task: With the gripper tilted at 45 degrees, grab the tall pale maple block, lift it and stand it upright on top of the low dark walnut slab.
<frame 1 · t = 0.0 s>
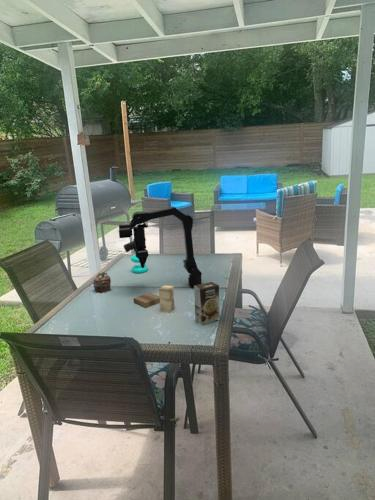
hand: (141, 265, 205), 15 cm above the table, tool pointing down, fingers open, 9 cm apart
cyan spool: (140, 271, 245), on the table
walnut slab: (147, 303, 194), on the table
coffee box: (207, 320, 170), on the table
cupcake: (102, 290, 214), on the table
maple block: (167, 309, 184), on the table
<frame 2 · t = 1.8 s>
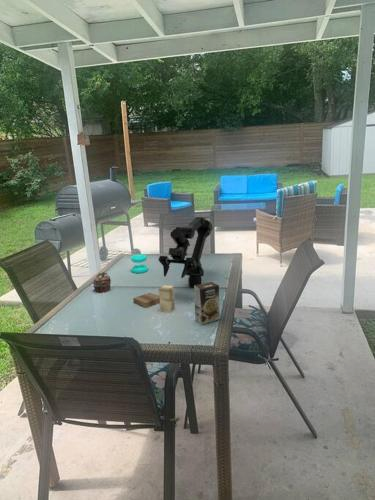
hand: (173, 277, 187), 13 cm above the table, tool tilted 45°, fingers open, 9 cm apart
nothing on the table moved.
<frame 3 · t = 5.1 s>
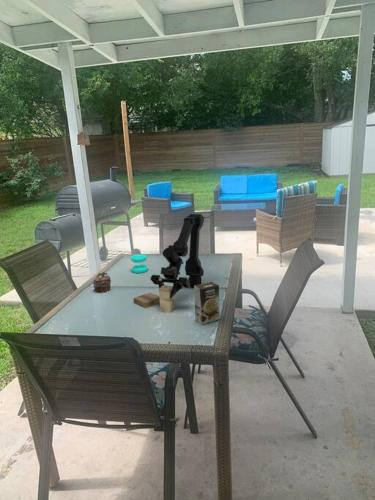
hand: (165, 297, 181), 7 cm above the table, tool tilted 45°, fingers closed on maple block, 5 cm apart
maple block: (167, 309, 184), on the table, touching gripper
everything else where it was.
when the fingers open (11 cm above the table, at t = 8.7 s): maple block drops 2 cm, point 3 cm above the table.
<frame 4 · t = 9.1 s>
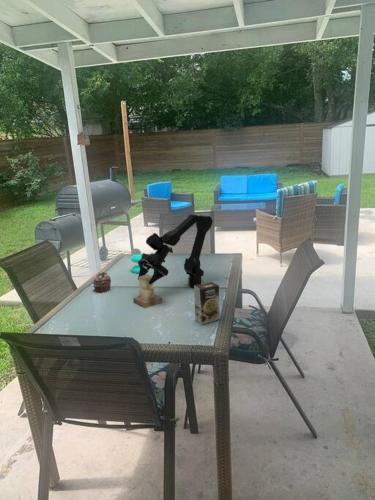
hand: (143, 282, 190), 11 cm above the table, tool tilted 45°, fingers open, 9 cm apart
maple block: (147, 297, 193), point 3 cm above the table
everything else where it was.
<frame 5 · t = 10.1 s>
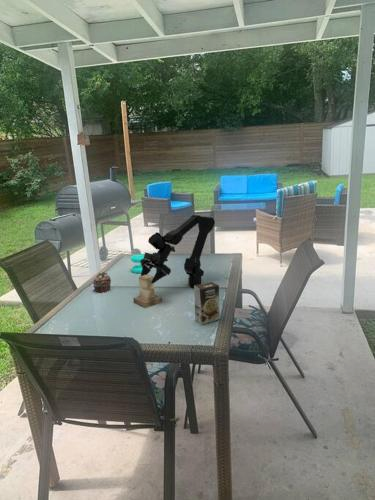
hand: (146, 281, 191), 11 cm above the table, tool tilted 45°, fingers open, 9 cm apart
nothing on the table moved.
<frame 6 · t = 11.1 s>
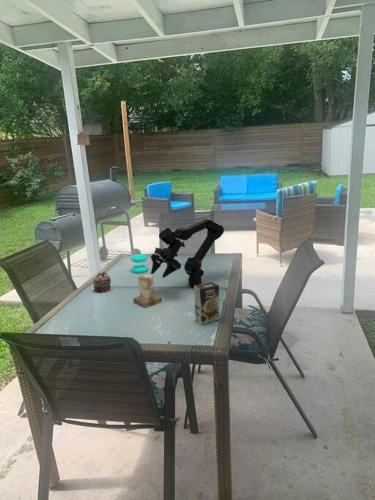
hand: (157, 275, 195), 12 cm above the table, tool tilted 45°, fingers open, 9 cm apart
nothing on the table moved.
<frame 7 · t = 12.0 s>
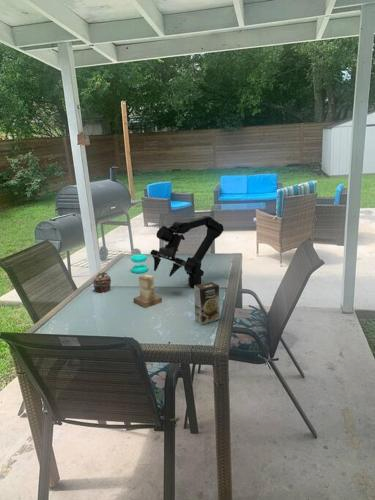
hand: (162, 273, 198), 12 cm above the table, tool tilted 30°, fingers open, 9 cm apart
walnut slab: (147, 303, 194), on the table, touching maple block
maple block: (147, 297, 193), point 2 cm above the table, touching walnut slab
everything else where it was.
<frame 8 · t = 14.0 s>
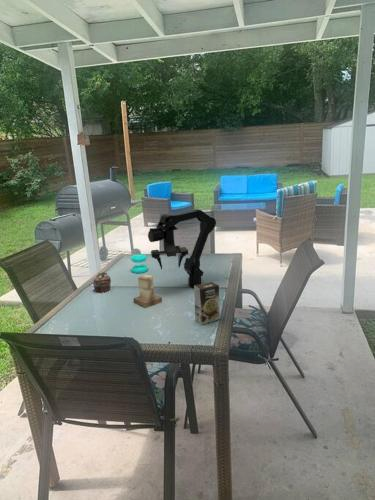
hand: (170, 268, 203), 13 cm above the table, tool pointing down, fingers open, 9 cm apart
walnut slab: (147, 303, 194), on the table
maple block: (147, 298, 193), point 2 cm above the table
everything else where it was.
at the end: maple block inside the target area on the walnut slab (0.3 cm from its centre), point 3.1 cm above the walnut slab's base; maple block tilted 1°; the gripper is holding nothing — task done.
